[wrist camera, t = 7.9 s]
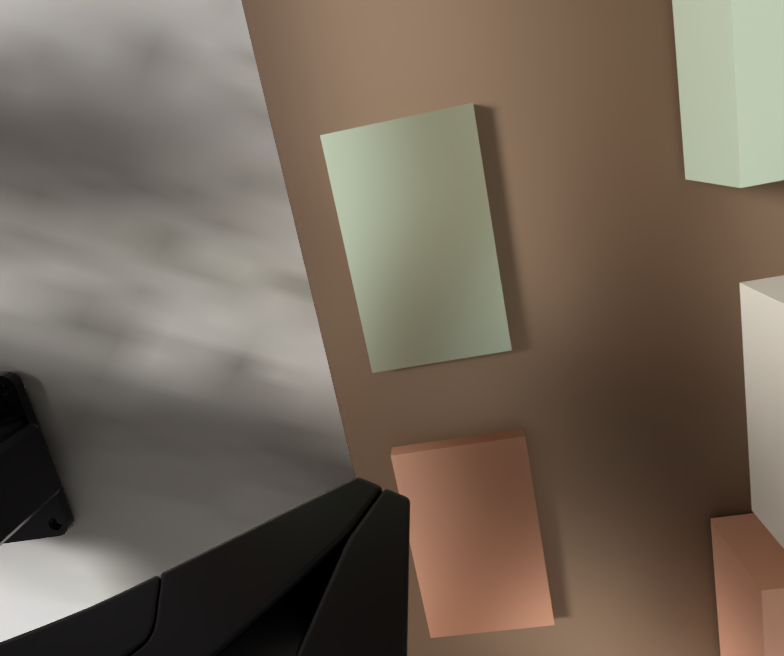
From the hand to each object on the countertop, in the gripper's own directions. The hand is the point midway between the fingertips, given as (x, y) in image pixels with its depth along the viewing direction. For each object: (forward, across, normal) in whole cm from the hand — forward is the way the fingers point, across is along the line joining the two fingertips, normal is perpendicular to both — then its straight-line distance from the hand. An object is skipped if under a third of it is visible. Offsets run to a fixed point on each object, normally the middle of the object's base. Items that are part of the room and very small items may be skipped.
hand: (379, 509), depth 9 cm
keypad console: (+13, -2, 0) cm, 13 cm away
